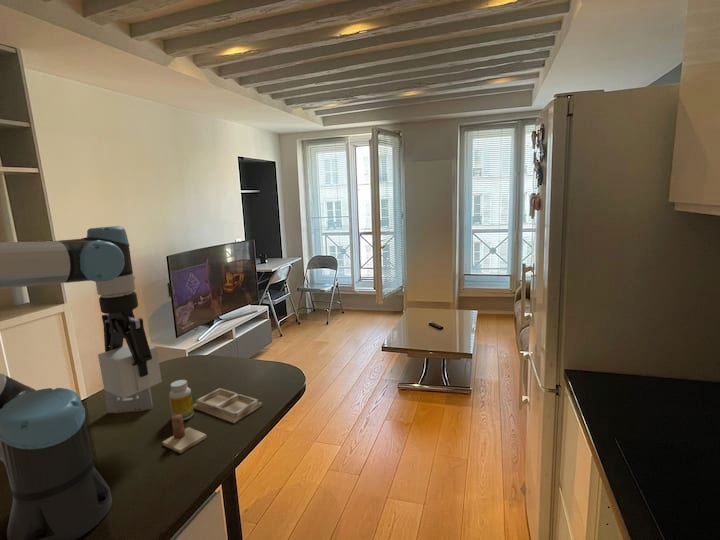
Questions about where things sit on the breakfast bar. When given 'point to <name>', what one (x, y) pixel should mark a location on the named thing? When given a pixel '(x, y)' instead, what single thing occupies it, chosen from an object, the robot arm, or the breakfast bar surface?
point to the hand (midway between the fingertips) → (132, 384)
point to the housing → (125, 371)
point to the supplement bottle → (181, 399)
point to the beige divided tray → (227, 405)
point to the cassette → (129, 402)
